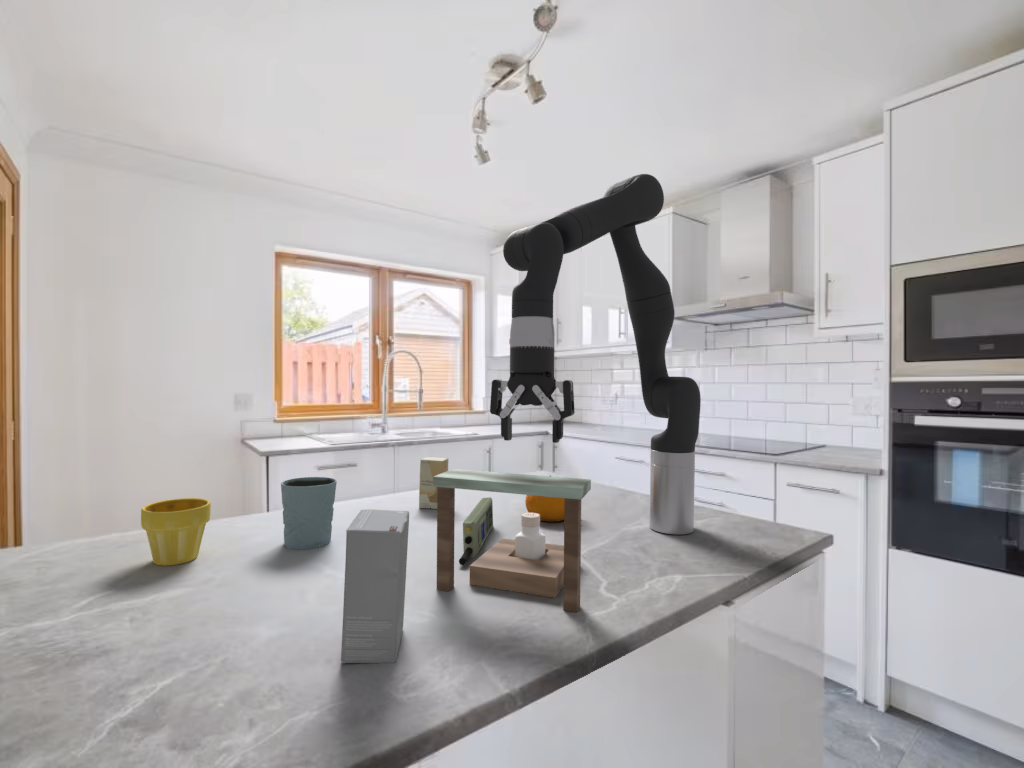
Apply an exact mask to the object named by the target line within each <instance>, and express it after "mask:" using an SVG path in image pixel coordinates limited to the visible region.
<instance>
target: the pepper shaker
mask: <svg viewBox="0 0 1024 768" xmlns="http://www.w3.org/2000/svg"><path fill="white" fill-rule="evenodd" d="M520 516H521V517H520V519H521V521H520V524H521V531H520V532H518V533H517V534H516V535H515V538H514V540H515V557H518V558H526V559H533V560H541V559H542V558H543V557H544V555H545V543H546V535H545V534H544V533H542V532H540V527H541V520H540V515H539V514H537V513H529V512H524V513H521V514H520Z"/></svg>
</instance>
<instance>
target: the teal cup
mask: <svg viewBox="0 0 1024 768" xmlns="http://www.w3.org/2000/svg"><path fill="white" fill-rule="evenodd" d="M280 488H281V489H280V491H281V492H280V493H281V504H282V509H283V510H282V521H283V523H282V524H283V525H284V527H283V542H284V546H285V547H286V548H288V549H291V550H309V548H311V549H314V548H315V547H316V548H320V547H323V546H326V545H327V543H328V544H329V543H330V542H331V540H332V531H333V527H332V526H333V525H332V522H333V519H334V511H335V509H334V505H335V500H336V492H337V490H336V489H337V479H335V478H332V477H326V476H321V477H320V476H307V477H297V478H291V479H286V480H283V481H282V482H280ZM325 544H326V545H325ZM322 545H323V546H322ZM319 546H320V547H319ZM316 548H315V549H316Z"/></svg>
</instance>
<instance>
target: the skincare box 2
mask: <svg viewBox="0 0 1024 768" xmlns="http://www.w3.org/2000/svg"><path fill="white" fill-rule="evenodd" d="M447 471H449V458H448V457H447V458H446V457H432V456H426V457H423V458H421V459H420V465H419V491H418V493H419V494H418V495H419V496H418V508H419V509H430V508H431V509H432V510H437V487H434V486H433V476H436V475H439V474H441V473H444V472H447Z"/></svg>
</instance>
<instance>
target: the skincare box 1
mask: <svg viewBox="0 0 1024 768" xmlns="http://www.w3.org/2000/svg"><path fill="white" fill-rule="evenodd" d="M409 526H410V512H409V511H408V510H386V509H361V510H360V511H359V512H358V513H357V515H356V516H355V518H354V519H353V520H352V522H351V523H350V524H349V526H348V527H347V528H346V530H345V532H346V538H345V565H344V587H343V588H344V589H343V612H342V633H341V652H340V653H341V654H340V655H341V657H340V662H341V664H364V663H365V664H369V663H371V664H377V663H379V664H382V663H383V664H384V663H388V664H389V663H395V662H396V661H397V656H398V653H399V648H400V643H401V638H402V636H403V635H402V634H403V630H404V616H405V602H406V601H405V600H406V599H405V598H406V582H407V567H408V565H407V564H408V563H407V561H408V547H409V545H408V544H409V543H408V542H409Z"/></svg>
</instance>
